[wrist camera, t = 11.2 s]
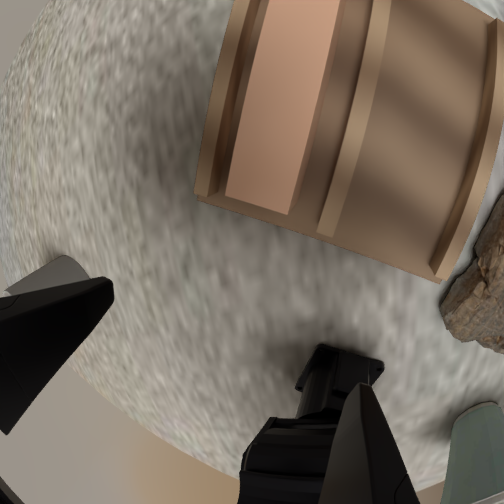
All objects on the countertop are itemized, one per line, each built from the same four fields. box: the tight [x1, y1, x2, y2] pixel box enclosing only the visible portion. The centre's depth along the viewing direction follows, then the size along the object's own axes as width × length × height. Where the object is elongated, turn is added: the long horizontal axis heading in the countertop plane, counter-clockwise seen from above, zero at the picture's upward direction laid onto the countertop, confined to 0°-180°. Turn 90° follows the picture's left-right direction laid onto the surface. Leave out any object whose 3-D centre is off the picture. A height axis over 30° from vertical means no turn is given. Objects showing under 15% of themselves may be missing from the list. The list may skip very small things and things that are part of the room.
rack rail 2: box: [429, 18, 504, 281], centre depth 11 cm, size 18×1×2 cm, turn 168°
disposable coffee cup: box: [440, 402, 504, 504], centre depth 13 cm, size 11×11×15 cm
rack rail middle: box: [316, 0, 391, 237], centre depth 12 cm, size 18×1×2 cm, turn 168°
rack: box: [197, 0, 495, 284], centre depth 13 cm, size 20×18×1 cm
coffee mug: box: [3, 256, 90, 297], centre depth 27 cm, size 13×10×10 cm
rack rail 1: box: [194, 0, 261, 197], centre depth 14 cm, size 18×1×2 cm, turn 168°
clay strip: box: [225, 0, 346, 215], centre depth 12 cm, size 16×4×3 cm, turn 168°
